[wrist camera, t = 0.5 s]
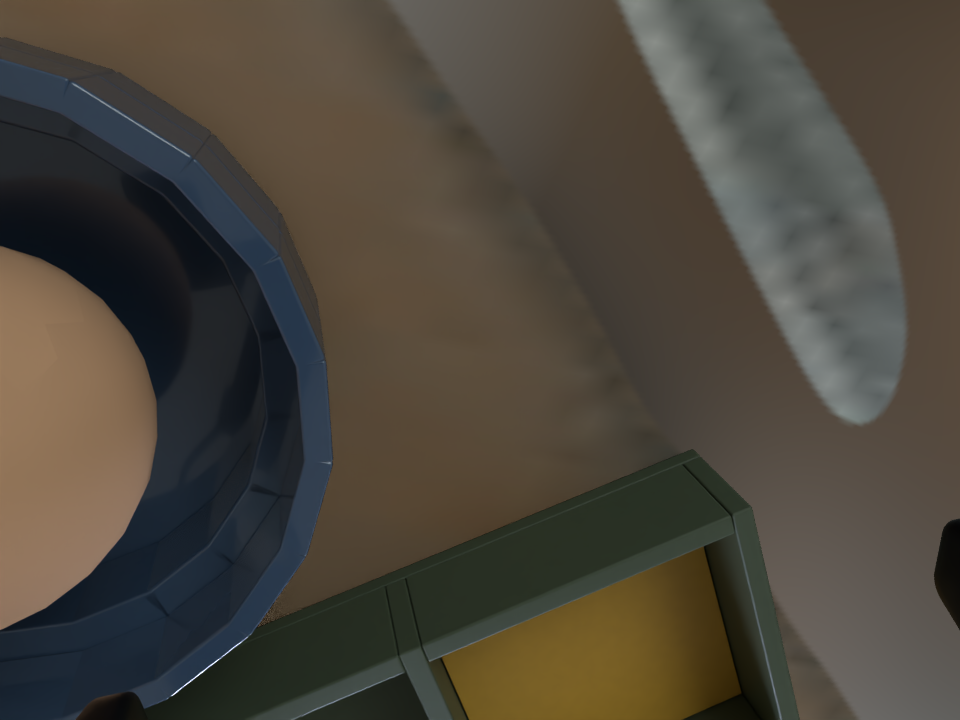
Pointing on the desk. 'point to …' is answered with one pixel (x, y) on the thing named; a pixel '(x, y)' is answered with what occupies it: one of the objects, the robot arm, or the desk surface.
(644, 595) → the carton
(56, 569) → the egg
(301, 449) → the bowl
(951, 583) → the robot arm
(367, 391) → the desk surface
